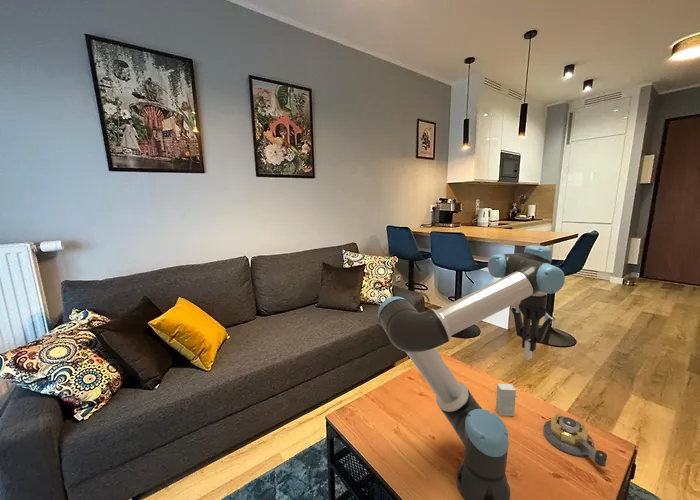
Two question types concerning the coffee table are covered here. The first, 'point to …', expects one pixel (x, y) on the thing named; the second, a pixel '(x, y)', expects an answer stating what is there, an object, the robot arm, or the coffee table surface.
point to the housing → (571, 428)
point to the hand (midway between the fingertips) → (527, 358)
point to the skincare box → (505, 399)
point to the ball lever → (577, 440)
